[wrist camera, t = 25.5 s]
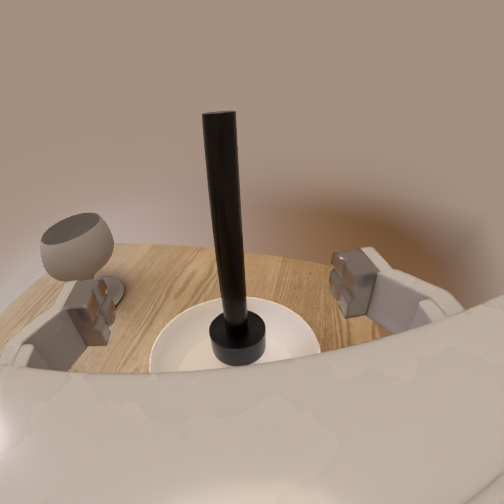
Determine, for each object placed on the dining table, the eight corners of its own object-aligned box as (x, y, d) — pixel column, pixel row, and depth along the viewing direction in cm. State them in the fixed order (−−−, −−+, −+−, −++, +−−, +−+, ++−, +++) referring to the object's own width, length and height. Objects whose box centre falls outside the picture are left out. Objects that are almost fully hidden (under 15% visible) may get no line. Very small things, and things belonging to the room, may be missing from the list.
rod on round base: (276, 344, 31) (278, 109, 18) (238, 376, 27) (211, 116, 15) (239, 319, 34) (223, 109, 22) (201, 345, 31) (161, 118, 18)
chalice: (62, 329, 40) (25, 257, 32) (69, 285, 51) (45, 222, 43) (131, 312, 44) (104, 234, 36) (127, 269, 55) (109, 203, 47)
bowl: (287, 316, 43) (288, 285, 40) (338, 424, 27) (351, 400, 24) (161, 337, 40) (150, 308, 36) (168, 460, 23) (150, 442, 20)
